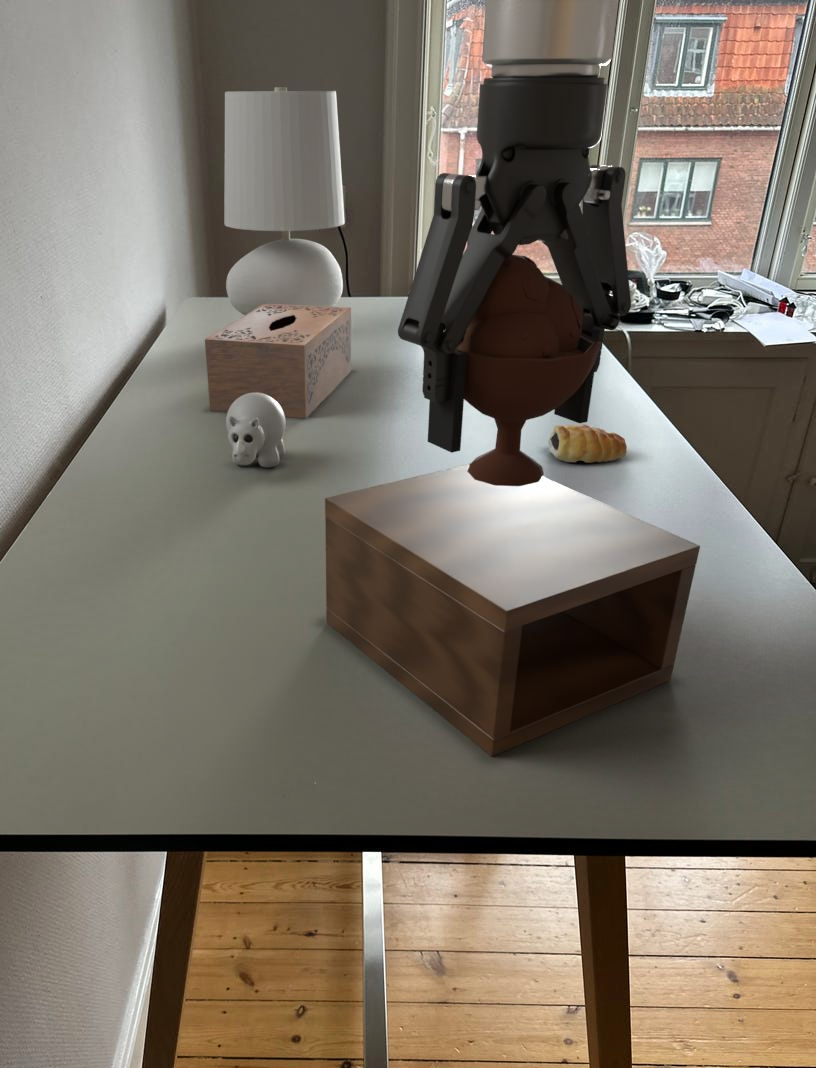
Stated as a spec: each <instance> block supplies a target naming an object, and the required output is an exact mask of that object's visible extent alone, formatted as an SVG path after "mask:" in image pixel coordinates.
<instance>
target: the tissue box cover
mask: <svg viewBox="0 0 816 1068" xmlns="http://www.w3.org/2000/svg"><path fill="white" fill-rule="evenodd" d="M204 349H205V360H206V361H205V362H206V372H207V373H206V375H207V387H208V400H209V411H210V412H222V413H228V410H229V408H230V406H231V405H232V404H233V402H234V401H235V400H236V399H238V398H239V397H241V396H242V395H245V394H248V393H263V394H266V395H268V396H270V397H272V398H273V399H274V400H275V401H276V402H277V403H278V404H279V405H280V406H281V408H282V410H283V412H284V415H285V418H299V419H307V418H309V416H310V415H311V414H312V413H313V412H314V411H315V410H316V409H317V408H318V407H319V406H320V404H322V402H323V401H325V400H326V398H327V397H328V396H329V395H330V394H331V393H332V392H333V391H334V390H335V389H336V388H337V387H338V386H339V384H340V383H341V382H342V381H344V379H345V378H346V377H347V376H348V375H349V374H350V373H351V372H352V307H344V306H343V307H342V306H333V307H325V306H305V305H284V304H263V305H261V306H260V307H258V308H256V309H255V310H253V311H251V312H250V313H248V314H246V315H243V316H241V317H239V318H238V319H236V320H235V321H233V322H231V323H230V324H228V325H226V326H225V327H223V328H222V329H219V330H218V331H216V332H215V333H213V334H212V335H209V336H208V337H206V338H205V339H204Z"/></svg>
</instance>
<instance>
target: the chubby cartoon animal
mask: <svg viewBox="0 0 816 1068" xmlns="http://www.w3.org/2000/svg"><path fill="white" fill-rule="evenodd" d="M286 424H287V422H286V417H285V415H284V412H283V410H282V408H281V406H280V405H279V404H278V403H277V402H276V401H275V400H274V399H273V398H272V397H270V396H268V395H266V394H263V393H248V394H245V395H242V396H241V397H239V398H238V399H236V400H235V401H234V402H233V404H232V405H231V406H230V408H229V410H228V412H226V418H225V427H226V433H227V435H228V437H227V438H228V442H229V445H230V446H231V448H232V453H231V461H232V463H234V464H235V465H237V466H248V465H251V464H252V463H254V461H255V460H256V459H257V460H258V464H259V466H260V467H262V468H266V469H268V468H269V469H270V468H273V467H276V466H278V465H279V464H280V458H282V457H283V456H284V455H285V454H286V453H285V452H286V448H285V443H284V440H283V437H284V435H285V432H286V427H287V425H286Z"/></svg>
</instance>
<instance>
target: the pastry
mask: <svg viewBox="0 0 816 1068" xmlns="http://www.w3.org/2000/svg"><path fill="white" fill-rule="evenodd" d="M548 437H549V438H548V440H547V441H548V442H547V443H548V445H549V448H548V449H549V450H548V451H549V453H551V454H552V455H553V456H554V458H556V459H557V460H559V461H562V462H565V463H577V462H578V461H582V462H584V463H594V462H595V463H602V462H604V463H607V462H613V461H616V460H618V459H620V458H624V457H625V455H626V454H627V450H628V449H627V447H628V446H627V442H626V440H625V438H624V437H622V436H621V435H620V434H618V433H616V432H607V431H606V430H604V429H603V428H599V427H593V426H589V425H587V424H579V425H574V424H566V425H555V426H554V427H553V430H552V431H551V433H550V435H549V436H548Z"/></svg>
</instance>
